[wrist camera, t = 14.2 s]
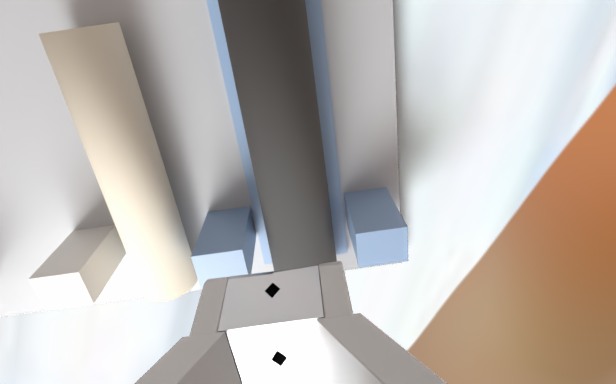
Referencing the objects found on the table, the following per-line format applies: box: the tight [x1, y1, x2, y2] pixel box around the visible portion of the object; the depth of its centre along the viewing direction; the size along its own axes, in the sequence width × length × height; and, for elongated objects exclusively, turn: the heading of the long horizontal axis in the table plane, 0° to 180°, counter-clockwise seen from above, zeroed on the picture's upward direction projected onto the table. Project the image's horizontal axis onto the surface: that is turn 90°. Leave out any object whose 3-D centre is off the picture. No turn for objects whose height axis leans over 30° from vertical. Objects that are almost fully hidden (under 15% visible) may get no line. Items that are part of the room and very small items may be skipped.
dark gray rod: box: [218, 0, 337, 273], centre depth 20 cm, size 16×4×4 cm, turn 7°
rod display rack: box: [0, 0, 408, 317], centre depth 20 cm, size 18×28×6 cm, turn 97°
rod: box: [39, 22, 198, 302], centre depth 20 cm, size 14×3×3 cm, turn 8°
